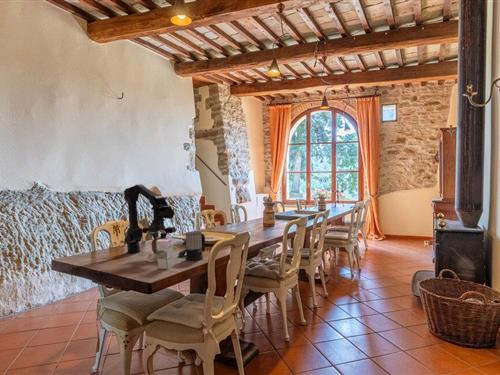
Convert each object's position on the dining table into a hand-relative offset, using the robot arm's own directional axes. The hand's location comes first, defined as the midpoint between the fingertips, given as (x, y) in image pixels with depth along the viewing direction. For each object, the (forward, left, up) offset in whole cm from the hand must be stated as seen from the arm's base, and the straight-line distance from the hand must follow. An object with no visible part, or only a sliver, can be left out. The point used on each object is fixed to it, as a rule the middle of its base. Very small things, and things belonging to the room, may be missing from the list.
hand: (159, 244), depth 200 cm
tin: (0, 0, -4) cm, 4 cm away
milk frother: (+19, 0, -7) cm, 20 cm away
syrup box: (+14, -22, -7) cm, 27 cm away
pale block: (0, 0, -8) cm, 8 cm away
